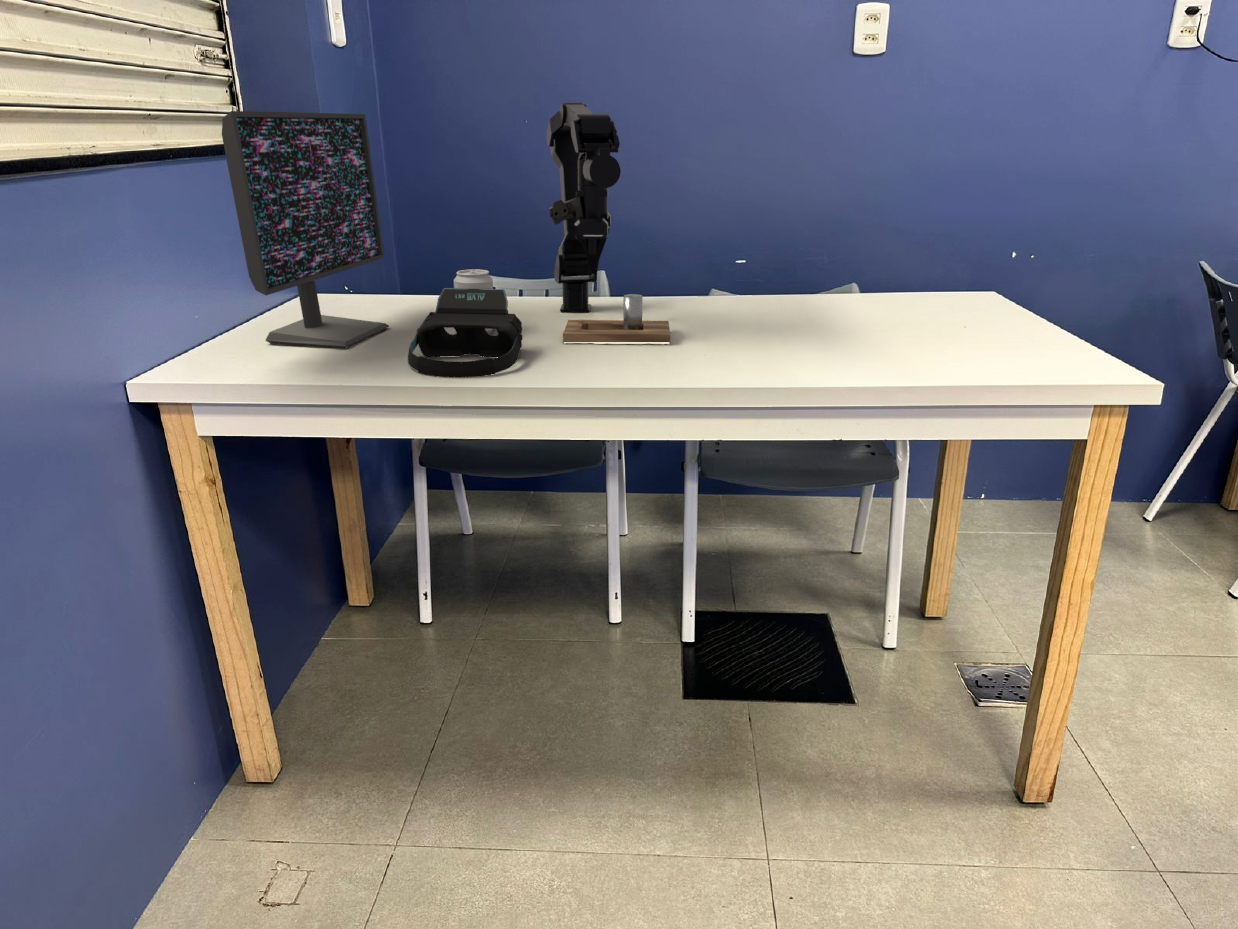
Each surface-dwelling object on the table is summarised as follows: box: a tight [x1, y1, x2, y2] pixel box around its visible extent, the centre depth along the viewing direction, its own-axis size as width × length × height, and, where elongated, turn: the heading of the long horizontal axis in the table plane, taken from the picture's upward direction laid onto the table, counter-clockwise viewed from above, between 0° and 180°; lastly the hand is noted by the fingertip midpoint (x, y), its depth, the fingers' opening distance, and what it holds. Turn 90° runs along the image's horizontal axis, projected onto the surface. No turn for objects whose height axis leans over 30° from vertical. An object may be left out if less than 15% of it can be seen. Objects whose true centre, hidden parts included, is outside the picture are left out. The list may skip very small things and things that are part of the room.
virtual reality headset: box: [407, 287, 524, 378], centre depth 148 cm, size 19×22×10 cm
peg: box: [622, 293, 644, 330], centre depth 165 cm, size 4×4×8 cm
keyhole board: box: [562, 319, 671, 343], centre depth 166 cm, size 12×20×2 cm, turn 88°
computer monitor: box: [221, 110, 390, 349], centre depth 158 cm, size 44×16×40 cm, turn 168°
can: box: [453, 268, 494, 334], centre depth 167 cm, size 8×8×12 cm
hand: (593, 267), depth 169 cm, fingers open, 9 cm apart
